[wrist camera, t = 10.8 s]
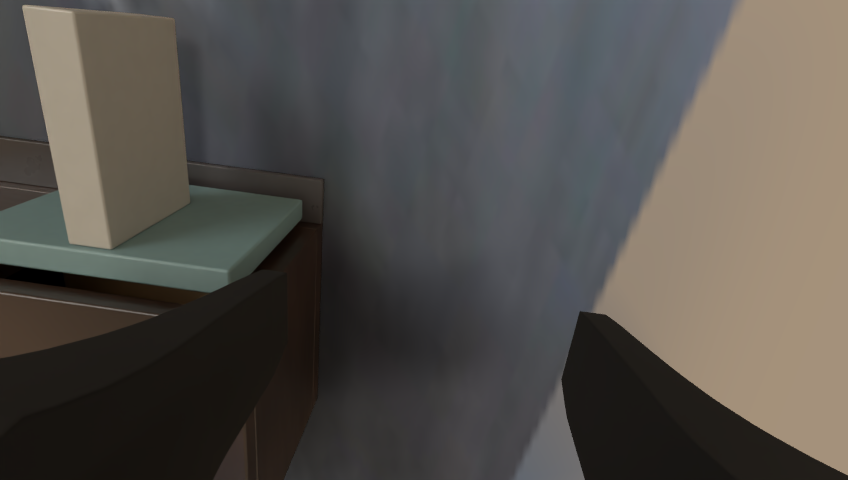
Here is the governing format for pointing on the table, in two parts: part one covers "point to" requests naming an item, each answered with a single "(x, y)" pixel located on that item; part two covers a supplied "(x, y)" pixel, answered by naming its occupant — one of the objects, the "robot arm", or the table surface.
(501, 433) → the table surface
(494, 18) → the table surface
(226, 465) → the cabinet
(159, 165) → the teal stand
